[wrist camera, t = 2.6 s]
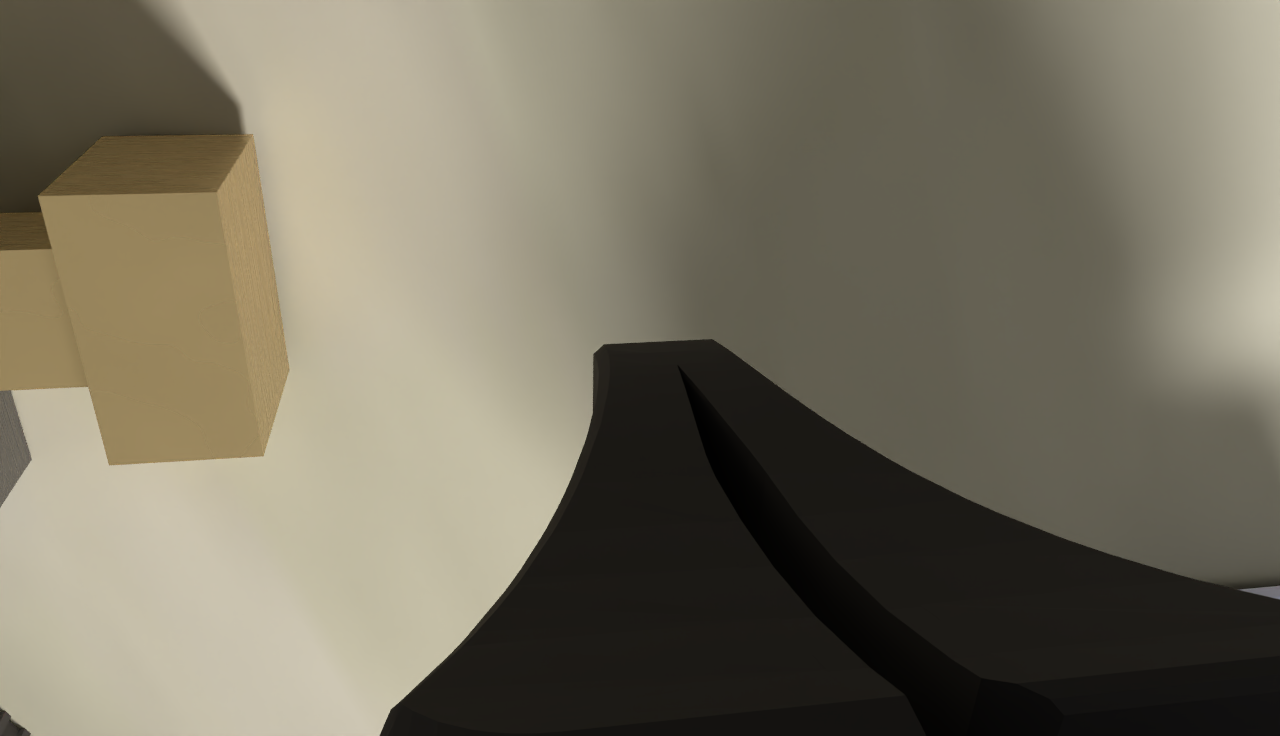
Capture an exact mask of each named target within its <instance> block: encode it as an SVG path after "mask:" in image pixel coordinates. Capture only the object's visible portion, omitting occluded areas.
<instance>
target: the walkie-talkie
mask: <svg viewBox="0 0 1280 736" xmlns="http://www.w3.org/2000/svg"><path fill="white" fill-rule="evenodd" d="M10 718H11V716H10V715H9V714H8V713H7V712H6V711H3V712H0V736H30V734H31V733H29V732H28V731H27V730H26V729H18V728H17V727H16V726H15V725H14V724H13V723H11V722H10V721H9V720H10Z"/></svg>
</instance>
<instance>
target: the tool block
mask: <svg viewBox="0 0 1280 736" xmlns="http://www.w3.org/2000/svg"><path fill="white" fill-rule="evenodd" d="M31 460H32V459H31V456H30V453H29V449H28V446H27V443H26V440H25V436H24V433H23V430H22V427H21V423H20V420H19V417H18V414H17V410H16V407H15V404H14V401H13V397H12V394H11V391H10V390H5V391H0V507H1V505H2V504H3V502H4V501H5V499H6V498H7V496H8V495H9V493H10V492H11V490H12V489H13V487H14V486H15V484H16V483H17V481H18V479H19V478H20V476H21V475H22V473H23V472H24V470H25V469H26V467H27V466H28V464H29V463H30V461H31Z"/></svg>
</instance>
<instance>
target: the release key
mask: <svg viewBox="0 0 1280 736" xmlns="http://www.w3.org/2000/svg"><path fill="white" fill-rule="evenodd" d="M38 199H39V203H40V206H41V210H42V212H22V213H0V391H5V390H26V389H47V388H68V387H89V391H90V395H91V399H92V402H93V406H94V410H95V414H96V417H97V421H98V425H99V429H100V432H101V436H102V440H103V444H104V448H105V451H106V455H107V459H108V463H109V465H122V464H139V463H156V462H173V461H190V460H207V459H224V458H241V457H258V456H264V453H265V449H266V446H267V443H268V439H269V436H270V433H271V429H272V426H273V423H274V419H275V416H276V413H277V409H278V406H279V403H280V399H281V396H282V392H283V389H284V386H285V382H286V379H287V376H288V372H289V364H288V357H287V351H286V345H285V338H284V332H283V325H282V319H281V312H280V306H279V299H278V293H277V286H276V280H275V273H274V267H273V260H272V254H271V247H270V241H269V235H268V228H267V222H266V215H265V209H264V202H263V196H262V189H261V183H260V176H259V170H258V163H257V157H256V150H255V144H254V137H253V134H247V135H171V136H102V137H101V138H100V139H99V140H98V141H97V142H96V143H95V144H94V145H92V146H91V147H90V148H89V149H88V150H87V151H86V152H85V153H84V154H83V155H82V156H81V157H80V158H78V159H77V160H76V161H75V162H74V163H73V164H72V165H71V166H70V167H69V168H68V169H67V170H65V171H64V172H63V173H62V174H61V175H60V176H59V177H58V178H57V179H56V180H55V181H54V182H53V183H51V184H50V185H49V186H48V187H47V188H46V189H45V190H44V191H43V192H42V193H41V194H40V195H38Z"/></svg>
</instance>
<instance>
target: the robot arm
mask: <svg viewBox="0 0 1280 736" xmlns="http://www.w3.org/2000/svg"><path fill="white" fill-rule="evenodd" d="M380 736H1280V586H1272V587H1261V588H1250V589H1239V590H1237V589H1233V588H1229V587H1224V586H1220V585H1216V584H1212V583H1207V582H1203V581H1199V580H1195V579H1191V578H1187V577H1184V576H1180V575H1176V574H1173V573H1170V572H1166V571H1163V570H1160V569H1156V568H1153V567H1150V566H1147V565H1143V564H1140V563H1137V562H1133V561H1130V560H1127V559H1123V558H1120V557H1117V556H1113V555H1110V554H1107V553H1104V552H1101V551H1098V550H1095V549H1092V548H1089V547H1087V546H1084V545H1081V544H1078V543H1075V542H1072V541H1069V540H1066V539H1063V538H1061V537H1058V536H1055V535H1053V534H1050V533H1048V532H1045V531H1043V530H1040V529H1038V528H1035V527H1032V526H1030V525H1027V524H1025V523H1022V522H1020V521H1017V520H1015V519H1012V518H1010V517H1007V516H1004V515H1002V514H999V513H997V512H995V511H993V510H990V509H988V508H986V507H983V506H981V505H979V504H977V503H974V502H972V501H970V500H968V499H965V498H963V497H961V496H959V495H957V494H955V493H953V492H951V491H949V490H947V489H945V488H943V487H941V486H939V485H937V484H935V483H933V482H931V481H929V480H927V479H925V478H923V477H921V476H919V475H917V474H915V473H913V472H911V471H909V470H908V469H906V468H904V467H902V466H900V465H898V464H897V463H895V462H893V461H891V460H889V459H888V458H886V457H884V456H883V455H881V454H879V453H878V452H876V451H874V450H873V449H871V448H870V447H868V446H866V445H865V444H863V443H861V442H860V441H858V440H856V439H855V438H853V437H851V436H850V435H848V434H846V433H845V432H843V431H842V430H840V429H839V428H837V427H836V426H834V425H833V424H831V423H830V422H828V421H827V420H825V419H824V418H822V417H821V416H819V415H818V414H816V413H815V412H813V411H812V410H810V409H809V408H808V407H806V406H805V405H803V404H802V403H800V402H799V401H798V400H796V399H795V398H793V397H792V396H791V395H789V394H788V393H786V392H785V391H784V390H782V389H781V388H780V387H778V386H777V385H775V384H774V383H773V382H771V381H770V380H769V379H767V378H766V377H765V376H763V375H762V374H761V373H759V372H758V371H756V370H755V369H754V368H752V367H751V366H750V365H748V364H747V363H746V362H744V361H743V360H742V359H740V358H739V357H738V356H736V355H735V354H733V353H732V352H731V351H729V350H728V349H726V348H725V347H723V346H722V345H721V344H719V343H717V342H716V341H714V340H712V339H708V340H687V341H666V342H644V343H623V344H604V345H603V346H602V347H601V348H600V349H599V350H598V351H596V352H595V353H594V362H593V415H592V419H591V423H590V427H589V431H588V435H587V438H586V441H585V444H584V446H583V449H582V452H581V454H580V457H579V460H578V462H577V465H576V468H575V470H574V473H573V476H572V478H571V480H570V483H569V485H568V487H567V489H566V492H565V494H564V496H563V498H562V500H561V502H560V504H559V506H558V508H557V510H556V512H555V514H554V516H553V517H552V519H551V521H550V523H549V525H548V527H547V529H546V530H545V532H544V534H543V535H542V537H541V539H540V540H539V542H538V543H537V545H536V546H535V548H534V550H533V551H532V553H531V554H530V556H529V557H528V559H527V561H526V562H525V564H524V565H523V567H522V568H521V570H520V571H519V573H518V574H517V575H516V577H515V578H514V580H513V581H512V582H511V584H510V585H509V587H508V588H507V589H506V591H505V592H504V593H503V594H502V595H501V597H500V598H499V599H498V600H497V601H496V603H495V604H494V605H493V606H492V607H491V609H490V610H489V611H488V612H487V613H486V614H485V616H484V617H483V618H482V619H481V620H480V622H479V623H478V624H477V625H476V626H475V628H474V629H473V630H472V631H471V632H470V634H469V635H468V636H467V637H466V638H465V639H464V641H463V642H462V643H461V644H460V645H459V646H458V647H457V648H456V649H455V650H454V651H453V652H452V653H451V654H450V655H449V656H448V657H447V658H446V659H445V660H444V661H443V662H442V663H441V664H440V665H439V666H437V667H436V668H435V669H434V670H433V671H432V672H431V673H430V674H429V675H428V676H427V677H426V678H425V679H424V680H423V681H422V682H420V683H419V684H418V685H417V686H416V687H415V688H414V689H413V690H412V691H411V692H410V693H409V694H408V695H407V696H406V697H405V698H404V699H402V700H401V701H400V702H399V703H398V704H397V705H396V706H395V707H393V708H392V709H391V711H390V713H389V715H388V718H387V720H386V722H385V724H384V727H383V729H382V732H381V734H380Z"/></svg>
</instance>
